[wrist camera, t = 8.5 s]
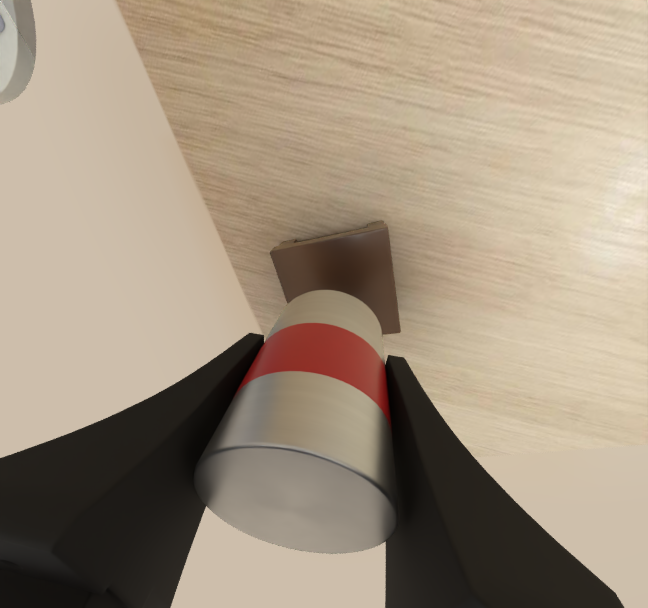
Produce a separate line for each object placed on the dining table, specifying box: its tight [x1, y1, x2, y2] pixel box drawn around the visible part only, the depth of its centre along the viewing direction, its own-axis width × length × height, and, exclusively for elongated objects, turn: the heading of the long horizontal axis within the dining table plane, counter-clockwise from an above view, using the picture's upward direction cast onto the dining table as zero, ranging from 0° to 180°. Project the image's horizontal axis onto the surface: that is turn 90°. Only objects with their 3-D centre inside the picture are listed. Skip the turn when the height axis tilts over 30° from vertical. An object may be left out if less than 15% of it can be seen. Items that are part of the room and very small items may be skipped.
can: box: [193, 290, 399, 554], centre depth 9 cm, size 5×5×7 cm
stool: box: [270, 221, 401, 335], centre depth 17 cm, size 7×7×2 cm
